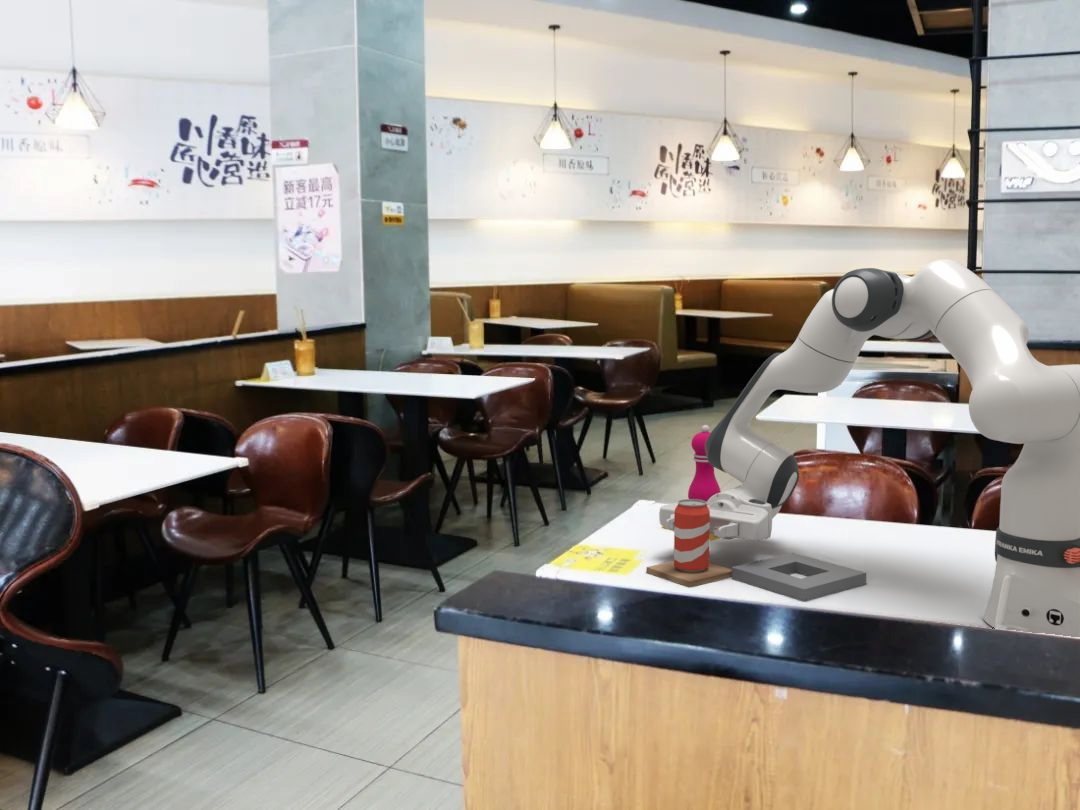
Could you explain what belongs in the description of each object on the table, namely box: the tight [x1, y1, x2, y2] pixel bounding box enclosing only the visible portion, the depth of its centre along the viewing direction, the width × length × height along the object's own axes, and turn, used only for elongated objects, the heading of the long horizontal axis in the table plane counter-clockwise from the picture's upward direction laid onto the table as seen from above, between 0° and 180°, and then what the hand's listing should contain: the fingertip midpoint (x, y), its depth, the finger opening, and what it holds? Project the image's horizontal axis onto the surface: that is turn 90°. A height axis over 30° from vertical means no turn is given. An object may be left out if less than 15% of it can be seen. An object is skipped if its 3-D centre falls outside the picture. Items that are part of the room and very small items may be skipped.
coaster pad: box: [645, 560, 732, 588], centre depth 182 cm, size 11×11×1 cm
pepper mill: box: [687, 424, 722, 502], centre depth 227 cm, size 7×7×20 cm
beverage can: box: [673, 498, 710, 573], centre depth 182 cm, size 6×6×12 cm
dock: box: [730, 552, 867, 602], centre depth 178 cm, size 16×16×2 cm
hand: (692, 529), depth 182 cm, fingers open, 8 cm apart
